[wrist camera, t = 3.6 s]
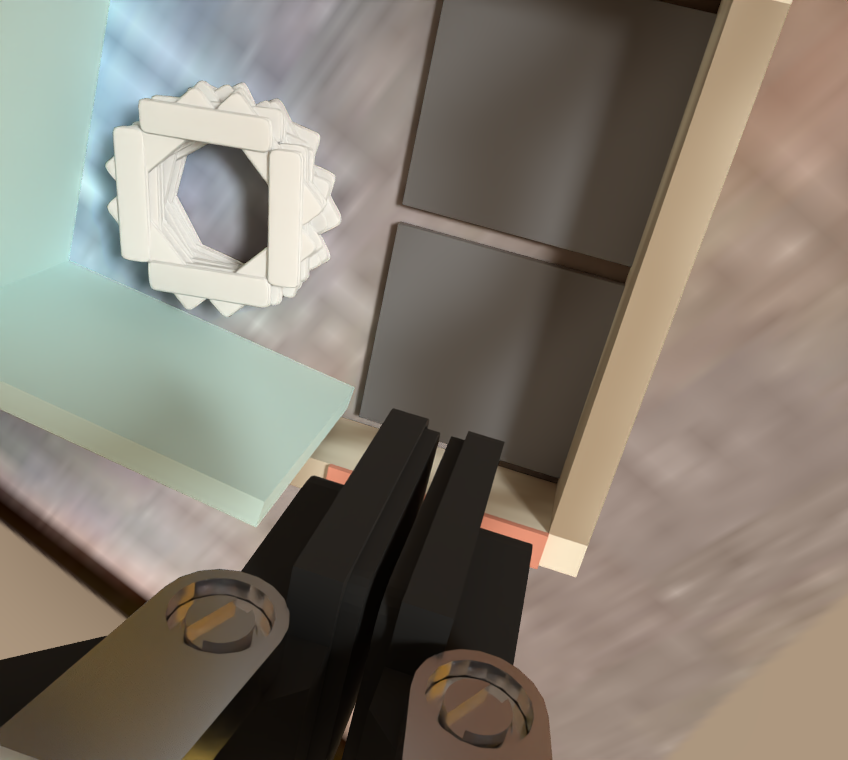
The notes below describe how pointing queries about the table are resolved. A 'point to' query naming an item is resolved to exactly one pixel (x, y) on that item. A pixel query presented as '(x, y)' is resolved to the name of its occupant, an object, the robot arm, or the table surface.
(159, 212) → the l-shaped corner panel
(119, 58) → the table surface
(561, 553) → the box
